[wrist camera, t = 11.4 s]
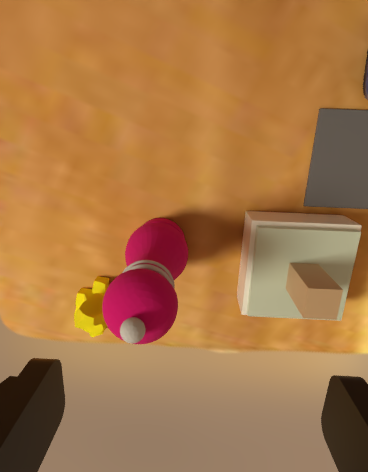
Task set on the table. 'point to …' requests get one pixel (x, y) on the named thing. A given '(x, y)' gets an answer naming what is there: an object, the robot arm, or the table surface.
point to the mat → (339, 160)
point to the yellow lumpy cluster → (91, 307)
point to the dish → (278, 220)
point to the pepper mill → (147, 283)
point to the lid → (301, 272)
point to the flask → (366, 80)
